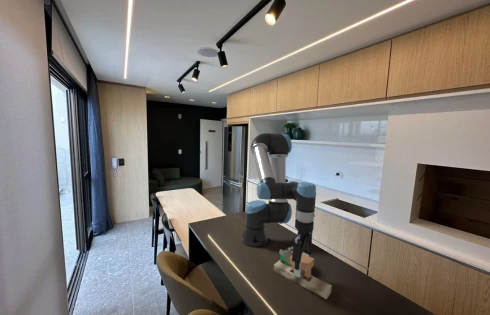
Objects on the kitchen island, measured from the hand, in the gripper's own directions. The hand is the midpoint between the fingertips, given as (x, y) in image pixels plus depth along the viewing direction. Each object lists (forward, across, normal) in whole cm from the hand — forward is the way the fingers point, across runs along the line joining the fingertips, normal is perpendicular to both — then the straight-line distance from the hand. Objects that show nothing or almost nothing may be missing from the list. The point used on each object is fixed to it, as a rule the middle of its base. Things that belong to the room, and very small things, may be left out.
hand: (301, 271), depth 86 cm
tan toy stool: (0, 0, 0) cm, 0 cm away
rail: (+4, 0, 0) cm, 4 cm away
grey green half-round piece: (+5, +6, +7) cm, 10 cm away
